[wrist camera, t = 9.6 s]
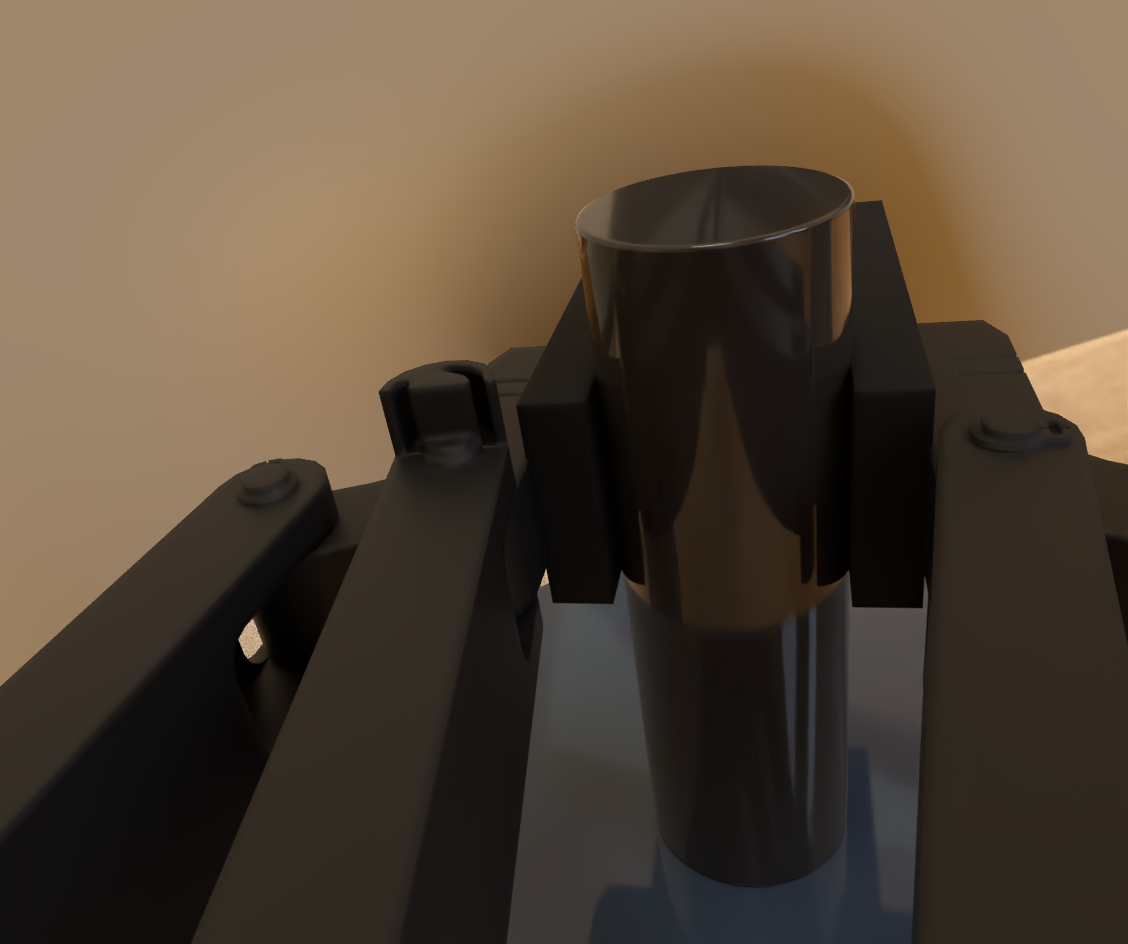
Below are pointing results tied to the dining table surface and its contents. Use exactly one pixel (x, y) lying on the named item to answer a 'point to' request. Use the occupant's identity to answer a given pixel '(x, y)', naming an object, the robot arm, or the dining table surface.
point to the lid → (723, 599)
